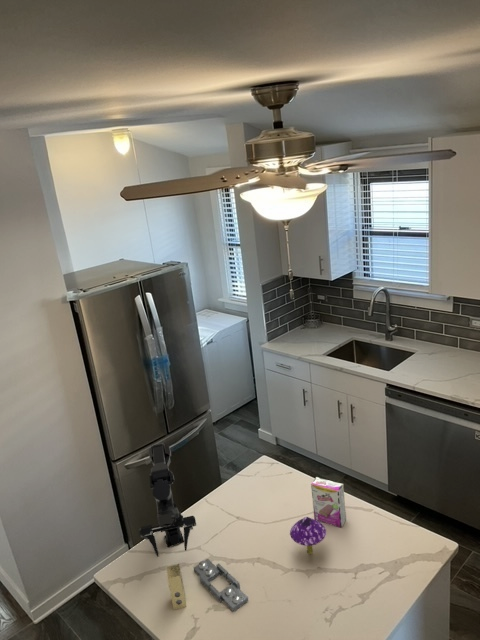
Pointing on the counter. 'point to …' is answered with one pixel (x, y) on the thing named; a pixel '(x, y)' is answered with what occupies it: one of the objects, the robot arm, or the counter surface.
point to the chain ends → (231, 593)
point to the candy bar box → (328, 502)
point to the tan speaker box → (176, 586)
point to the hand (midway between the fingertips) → (171, 553)
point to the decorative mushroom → (308, 533)
